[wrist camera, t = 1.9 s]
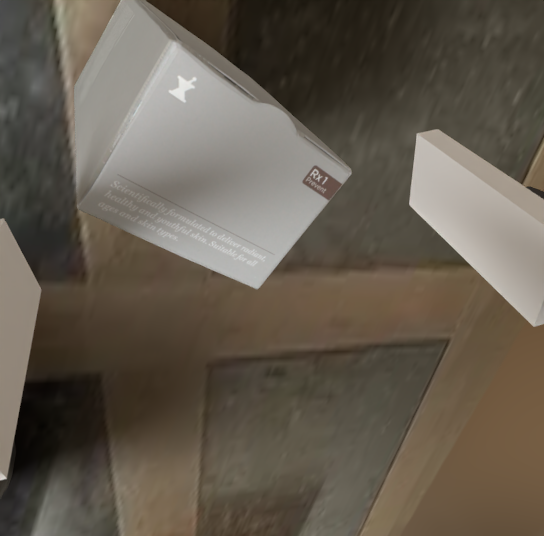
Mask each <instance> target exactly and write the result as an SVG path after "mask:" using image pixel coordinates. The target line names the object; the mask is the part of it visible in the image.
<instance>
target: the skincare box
mask: <svg viewBox="0 0 544 536" xmlns="http://www.w3.org/2000/svg"><path fill="white" fill-rule="evenodd" d="M74 106H75V146H76V185H77V208H78V209H79V210H81V211H83V212H85V213H87V214H90V215H92V216H94V217H96V218H99V219H101V220H103V221H105V222H107V223H109V224H111V225H114V226H116V227H118V228H120V229H122V230H124V231H127V232H129V233H131V234H133V235H135V236H138V237H140V238H142V239H144V240H146V241H148V242H151V243H153V244H155V245H157V246H159V247H162V248H164V249H166V250H168V251H170V252H173V253H175V254H177V255H179V256H181V257H184V258H186V259H188V260H190V261H193V262H195V263H198V264H200V265H202V266H204V267H207V268H209V269H211V270H213V271H216V272H218V273H221V274H223V275H225V276H227V277H230V278H232V279H234V280H237V281H239V282H241V283H244V284H246V285H248V286H251V287H253V288H255V289H258V288H260V286H261V285H262V284H263V283H264V281H265V280H266V279H267V278H268V276H269V275H270V274H271V273H272V271H273V270H274V269H275V268H276V266H277V265H278V264H279V263H280V261H281V260H282V259H283V258H284V256H285V255H286V254H287V253H288V251H289V250H290V249H291V248H292V246H293V245H294V244H295V243H296V242H297V240H298V239H299V238H300V237H301V235H302V234H303V233H304V232H305V230H306V229H307V228H308V227H309V225H310V224H311V223H312V222H313V221H314V219H315V218H316V217H317V216H318V214H319V213H320V212H321V211H322V210H323V208H324V207H325V206H326V205H327V203H328V202H329V201H330V200H331V198H332V197H333V196H334V195H335V194H336V192H337V191H338V190H339V189H340V187H341V186H342V185H343V184H344V183H345V181H346V180H347V179H348V178H349V176H350V175H351V174H352V171H351V169H350V167H349V166H348V165H347V164H346V163H345V162H344V161H343V160H341V159H340V158H339V157H338V156H337V155H336V154H335V153H334V152H333V151H332V150H331V149H330V148H328V147H327V146H326V145H325V144H324V143H323V142H322V141H321V140H320V139H319V138H317V137H316V136H315V135H314V134H313V133H312V132H311V131H310V130H308V129H307V128H306V127H305V126H304V125H303V124H302V123H301V122H300V121H298V120H297V119H296V118H295V117H294V116H293V115H292V114H291V113H289V112H288V111H287V110H286V109H285V108H284V107H283V106H282V105H281V104H280V103H279V102H278V101H276V100H275V99H274V98H273V97H272V96H271V95H270V94H269V93H267V92H266V91H265V90H264V89H263V88H262V87H261V86H260V85H258V84H257V83H256V82H255V81H254V80H253V79H252V78H250V77H249V76H248V75H247V74H245V73H244V72H243V71H241V70H240V69H239V68H237V67H236V66H235V65H233V64H232V63H231V62H229V61H228V60H227V59H226V58H224V57H223V56H222V55H221V54H219V53H218V52H217V51H216V50H214V49H213V48H212V47H210V46H209V45H207V44H206V43H205V42H203V41H202V40H200V39H199V38H198V37H196V36H195V35H193V34H192V33H191V32H189V31H188V30H186V29H185V28H184V27H182V26H181V25H179V24H178V23H176V22H175V21H174V20H172V19H171V18H169V17H168V16H167V15H165V14H164V13H162V12H161V11H160V10H158V9H157V8H155V7H154V6H153V5H151V4H150V3H148V2H147V1H146V0H121V1H120V3H119V5H118V7H117V8H116V10H115V12H114V14H113V16H112V18H111V19H110V21H109V23H108V25H107V27H106V29H105V31H104V32H103V34H102V36H101V38H100V40H99V42H98V44H97V45H96V47H95V49H94V51H93V53H92V54H91V56H90V58H89V60H88V62H87V64H86V65H85V67H84V69H83V71H82V73H81V75H80V77H79V78H78V80H77V82H76V84H75V86H74Z"/></svg>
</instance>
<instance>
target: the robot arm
mask: <svg viewBox="0 0 544 536" xmlns="http://www.w3.org/2000/svg"><path fill="white" fill-rule="evenodd" d="M409 205H410V206H411V207H412V208H413V209H414V210H415V211H416V212H417V213H418V214H419V215H420V216H421V217H422V218H423V219H424V220H425V221H426V222H427V223H428V224H429V225H430V226H431V227H432V228H433V229H434V230H435V231H436V232H437V233H438V234H439V235H440V236H442V237H443V238H444V239H445V240H446V241H447V242H448V243H449V244H450V245H451V246H452V247H453V248H454V249H455V250H456V251H457V252H458V253H459V254H460V255H461V256H462V257H463V258H464V259H465V260H466V261H467V262H468V263H469V264H470V265H471V266H472V267H473V268H474V269H475V270H476V271H477V272H478V273H479V274H480V275H481V276H482V277H483V278H484V279H485V280H486V281H487V282H489V283H490V284H491V285H492V286H493V287H494V288H495V289H496V290H497V291H498V292H499V293H500V294H501V295H502V296H503V297H504V298H505V299H506V300H507V301H508V302H509V303H510V304H511V305H512V306H513V307H514V308H515V309H516V310H517V311H518V312H519V313H520V314H521V315H522V316H523V317H524V318H525V319H526V320H527V321H528V322H529V323H530V324H532V326H533V327H535V326H539V325H542V324H544V192H543V191H541V190H538V189H535V188H532V187H529V186H528V187H524V186H523V185H521V184H520V183H518V182H517V181H515V180H514V179H512V178H511V177H509V176H508V175H506V174H505V173H503V172H502V171H500V170H499V169H497V168H496V167H494V166H493V165H491V164H490V163H488V162H487V161H485V160H484V159H482V158H480V157H479V156H477V155H476V154H474V153H473V152H471V151H470V150H468V149H467V148H465V147H464V146H462V145H461V144H459V143H458V142H456V141H455V140H453V139H452V138H450V137H449V136H447V135H446V134H444V133H443V132H441V131H440V130H438V129H437V130H432V131H427V132H422V133H417V138H416V147H415V156H414V165H413V174H412V183H411V192H410V202H409ZM40 295H41V288H40V286H39V284H38V282H37V280H36V278H35V276H34V274H33V273H32V271H31V269H30V267H29V265H28V263H27V261H26V259H25V257H24V255H23V254H22V252H21V250H20V248H19V246H18V244H17V242H16V240H15V238H14V237H13V235H12V233H11V231H10V229H9V227H8V225H7V223H6V221H5V219H4V218H3V219H0V498H1V496H2V494H3V493H4V492H5V490H6V489H7V487H8V485H9V483H10V480H11V477H12V474H13V468H14V462H15V456H16V445H15V441H14V436H15V431H16V426H17V420H18V415H19V409H20V404H21V398H22V393H23V388H24V382H25V377H26V371H27V366H28V360H29V355H30V350H31V344H32V339H33V333H34V328H35V322H36V317H37V311H38V306H39V301H40Z"/></svg>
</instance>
